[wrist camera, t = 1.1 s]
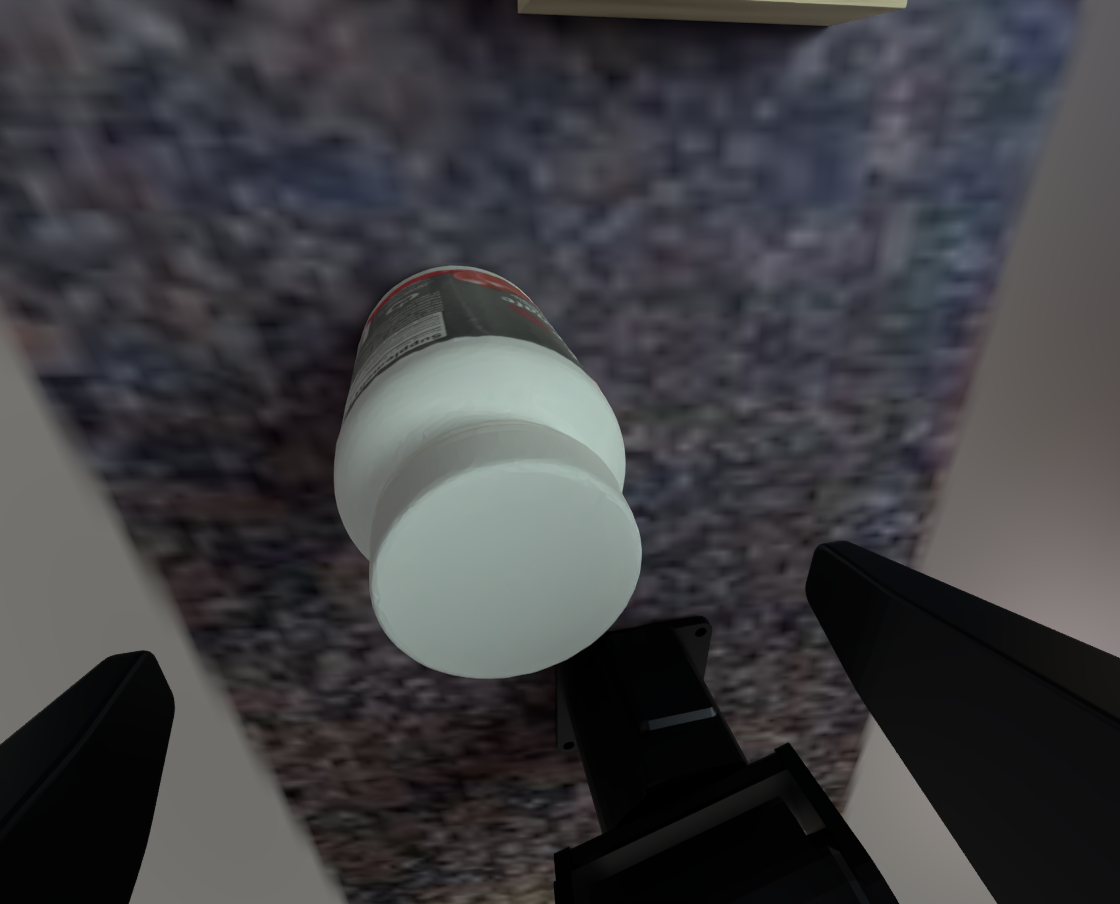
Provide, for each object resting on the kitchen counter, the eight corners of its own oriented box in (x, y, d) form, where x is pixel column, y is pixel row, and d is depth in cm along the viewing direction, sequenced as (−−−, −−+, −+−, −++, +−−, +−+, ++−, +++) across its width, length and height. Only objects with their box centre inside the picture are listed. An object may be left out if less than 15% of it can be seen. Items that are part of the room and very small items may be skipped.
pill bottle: (587, 347, 17) (753, 548, 9) (469, 472, 19) (522, 753, 10) (444, 214, 15) (496, 327, 6) (317, 369, 16) (222, 632, 8)
